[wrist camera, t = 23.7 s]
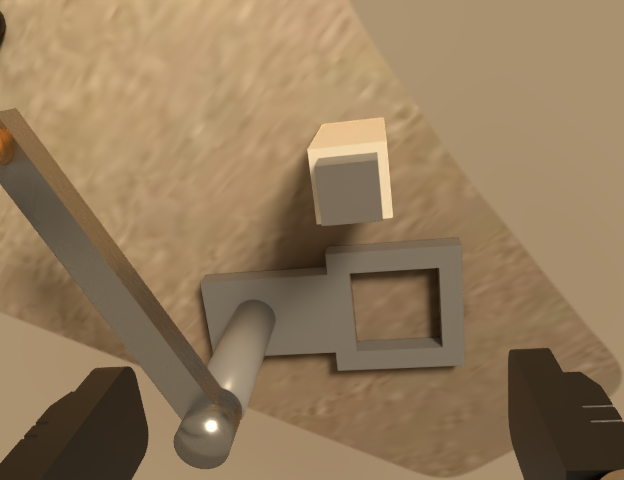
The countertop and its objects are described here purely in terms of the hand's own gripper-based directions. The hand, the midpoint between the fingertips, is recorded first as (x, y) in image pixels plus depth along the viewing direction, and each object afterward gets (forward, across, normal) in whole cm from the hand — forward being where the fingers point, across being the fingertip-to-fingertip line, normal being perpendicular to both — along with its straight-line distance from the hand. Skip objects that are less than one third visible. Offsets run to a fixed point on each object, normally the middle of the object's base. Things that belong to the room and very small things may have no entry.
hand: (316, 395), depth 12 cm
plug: (+28, 0, 0) cm, 28 cm away
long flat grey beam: (+16, +12, +4) cm, 20 cm away
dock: (+28, +2, +11) cm, 30 cm away
